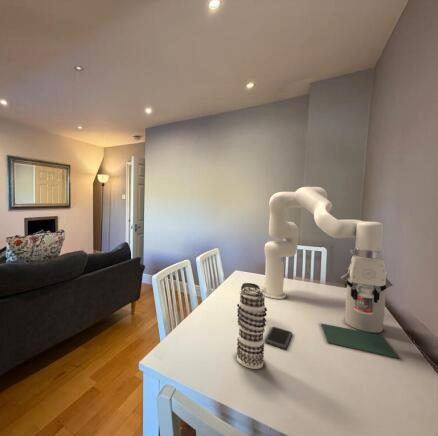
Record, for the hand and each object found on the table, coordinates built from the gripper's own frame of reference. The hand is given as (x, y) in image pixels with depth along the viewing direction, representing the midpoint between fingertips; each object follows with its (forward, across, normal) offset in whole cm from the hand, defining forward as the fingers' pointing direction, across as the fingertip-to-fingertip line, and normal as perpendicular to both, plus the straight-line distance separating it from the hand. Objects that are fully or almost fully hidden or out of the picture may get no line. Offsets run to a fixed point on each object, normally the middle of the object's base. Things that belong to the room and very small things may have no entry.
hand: (364, 299), depth 95 cm
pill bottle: (+5, 0, 0) cm, 5 cm away
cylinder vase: (+17, +4, +15) cm, 23 cm away
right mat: (+17, -2, 0) cm, 17 cm away
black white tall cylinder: (+17, -38, -33) cm, 53 cm away
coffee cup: (+17, -41, +1) cm, 44 cm away
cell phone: (+17, -29, -13) cm, 36 cm away
